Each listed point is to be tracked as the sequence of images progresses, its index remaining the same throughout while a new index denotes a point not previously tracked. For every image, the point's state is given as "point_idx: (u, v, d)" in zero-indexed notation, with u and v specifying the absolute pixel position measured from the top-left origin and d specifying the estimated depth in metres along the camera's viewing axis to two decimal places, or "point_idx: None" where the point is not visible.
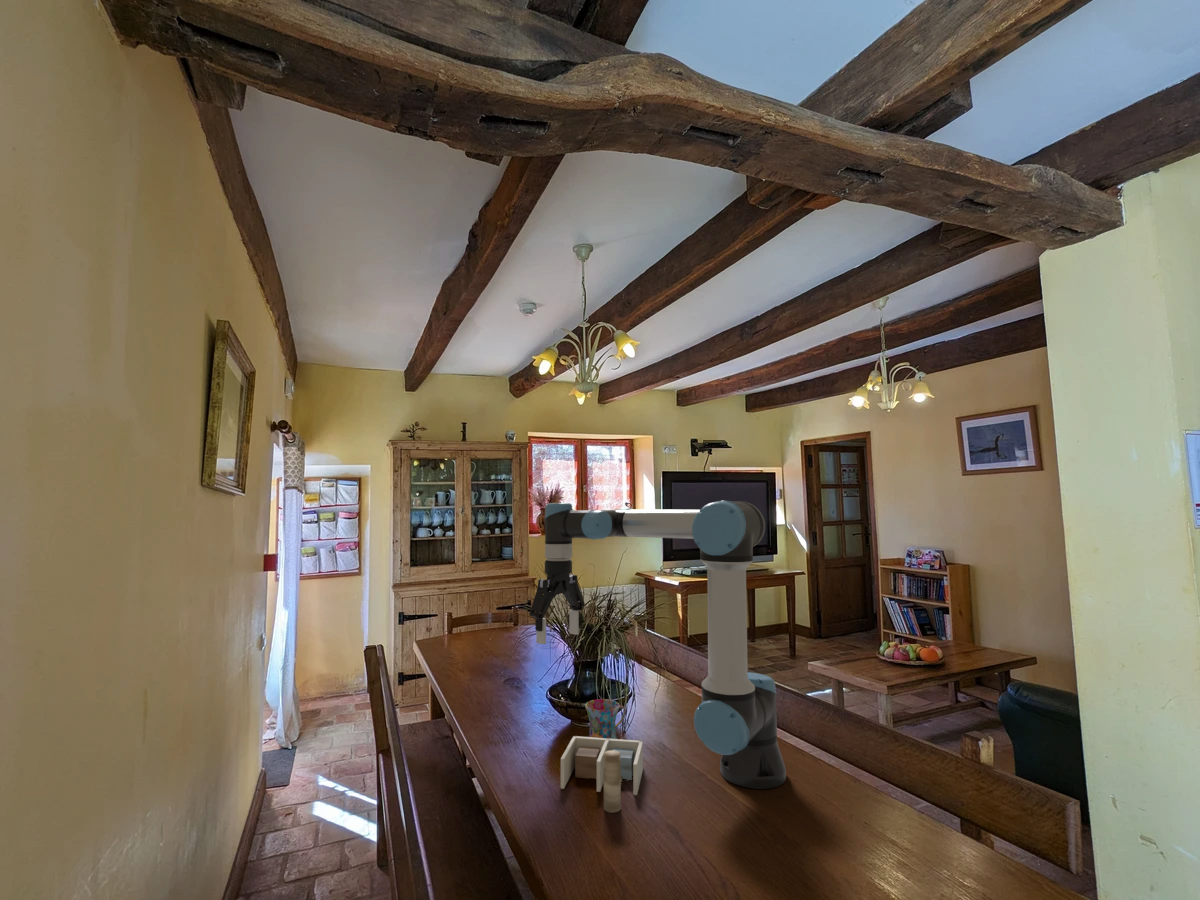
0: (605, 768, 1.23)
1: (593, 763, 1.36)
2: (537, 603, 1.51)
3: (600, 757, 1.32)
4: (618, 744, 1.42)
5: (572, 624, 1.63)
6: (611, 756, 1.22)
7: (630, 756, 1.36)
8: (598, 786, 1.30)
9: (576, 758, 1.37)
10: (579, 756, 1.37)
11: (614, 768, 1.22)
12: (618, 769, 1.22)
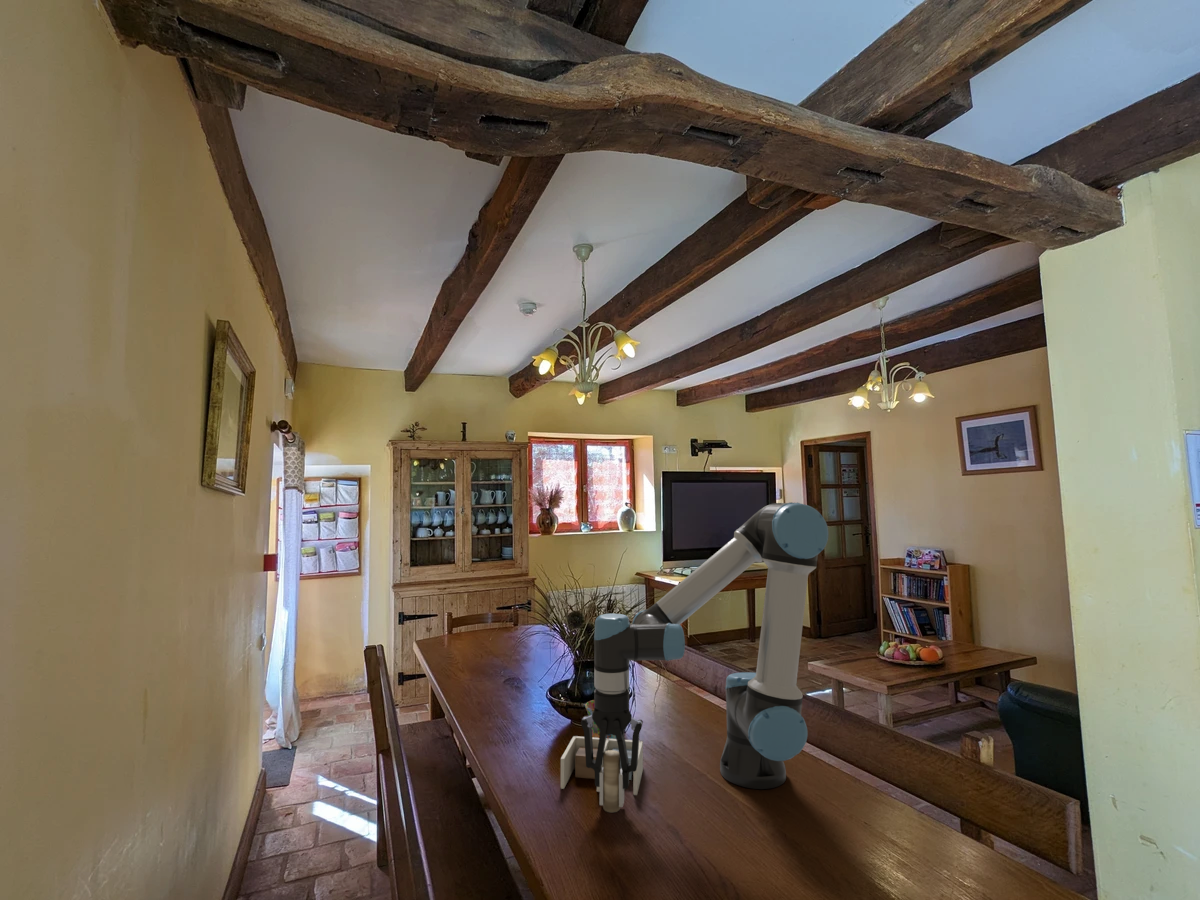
0: (605, 768, 1.23)
1: None
2: None
3: None
4: None
5: None
6: (611, 756, 1.22)
7: (630, 756, 1.36)
8: None
9: (576, 758, 1.37)
10: (579, 756, 1.37)
11: (613, 768, 1.22)
12: (618, 769, 1.22)
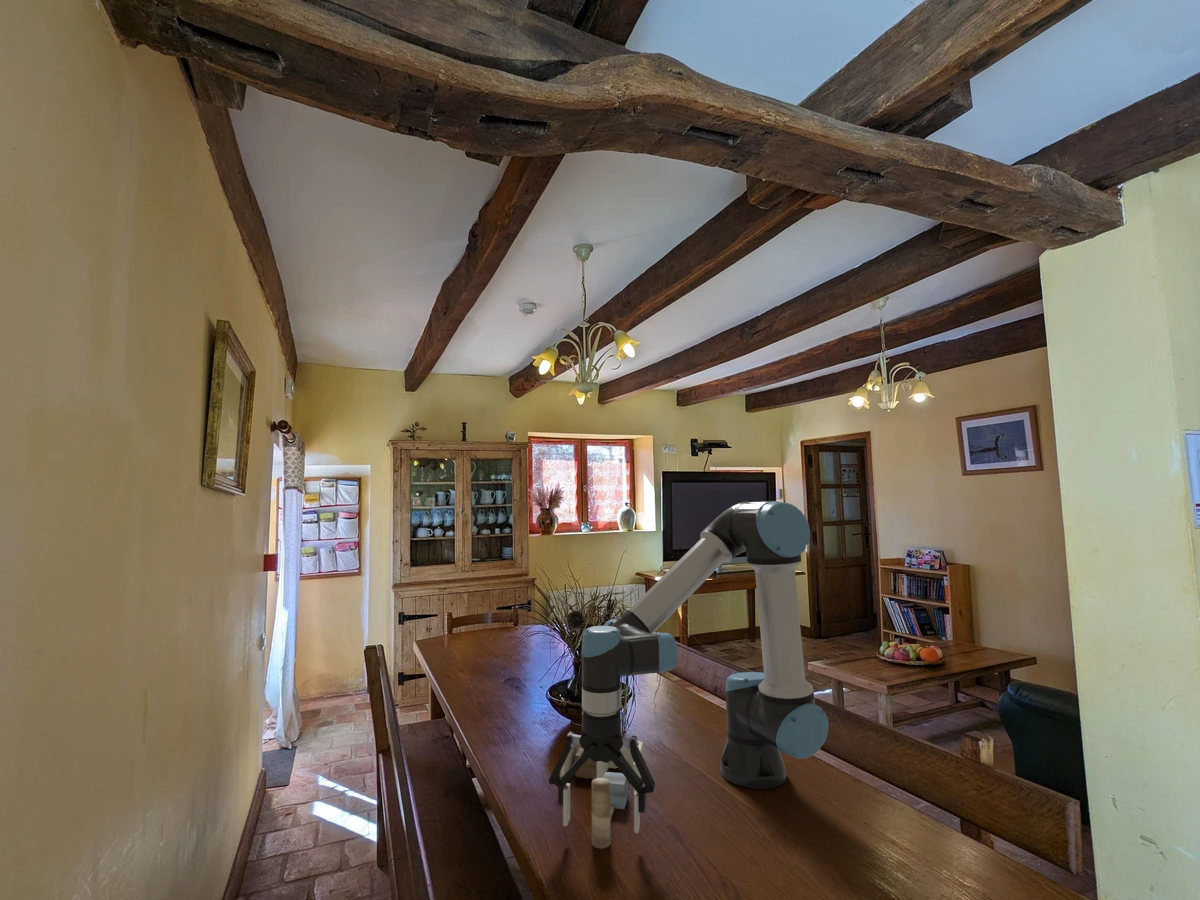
0: (593, 798, 1.10)
1: (593, 763, 1.36)
2: None
3: None
4: None
5: None
6: (600, 785, 1.10)
7: (623, 782, 1.24)
8: None
9: (576, 758, 1.37)
10: None
11: (602, 799, 1.09)
12: (607, 800, 1.10)
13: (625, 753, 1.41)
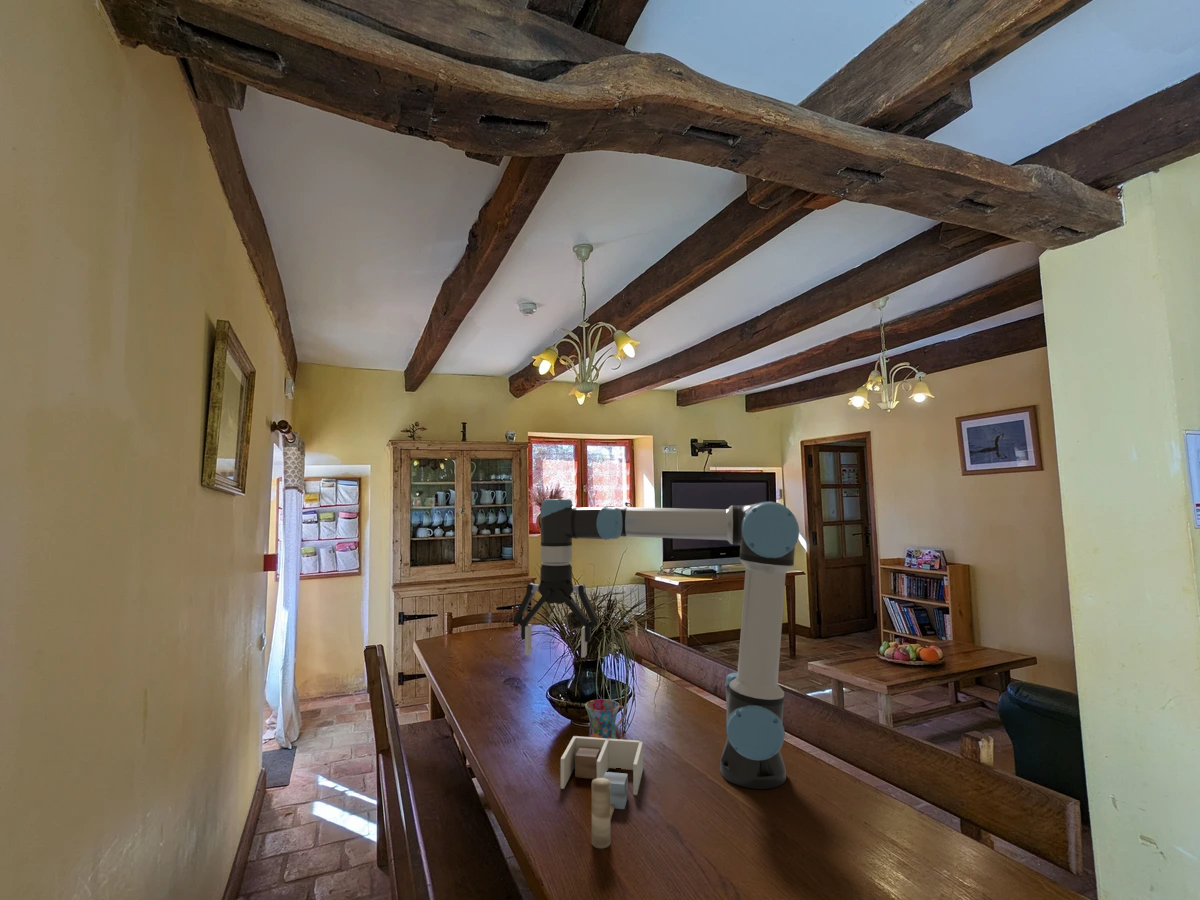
0: (593, 798, 1.10)
1: (592, 763, 1.36)
2: None
3: (600, 757, 1.32)
4: (618, 744, 1.42)
5: None
6: (600, 785, 1.10)
7: (623, 782, 1.24)
8: None
9: (576, 758, 1.37)
10: (579, 756, 1.37)
11: (602, 799, 1.09)
12: (607, 800, 1.10)
13: (625, 753, 1.41)
